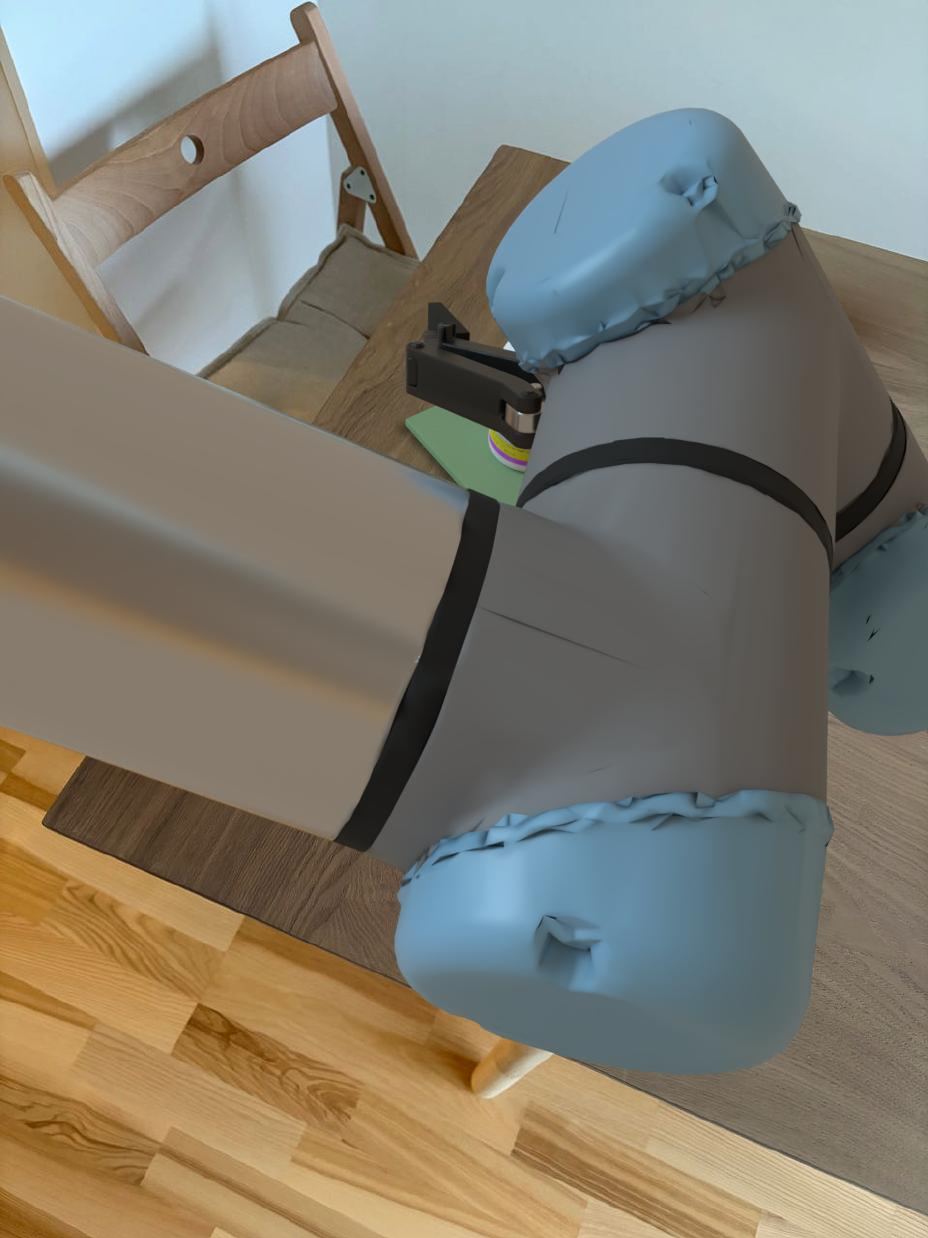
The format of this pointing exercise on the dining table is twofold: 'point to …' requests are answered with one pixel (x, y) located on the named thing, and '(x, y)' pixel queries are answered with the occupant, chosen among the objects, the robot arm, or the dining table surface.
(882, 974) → the dining table surface
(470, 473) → the green mat
